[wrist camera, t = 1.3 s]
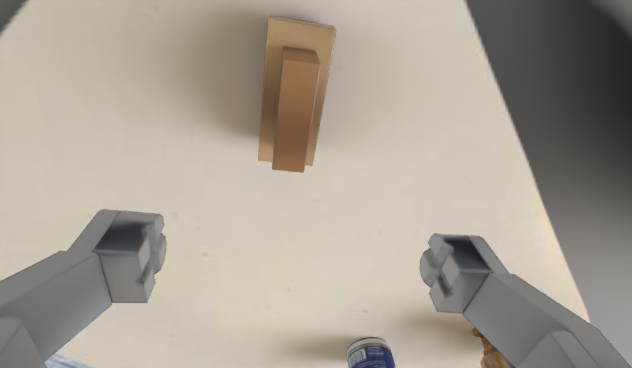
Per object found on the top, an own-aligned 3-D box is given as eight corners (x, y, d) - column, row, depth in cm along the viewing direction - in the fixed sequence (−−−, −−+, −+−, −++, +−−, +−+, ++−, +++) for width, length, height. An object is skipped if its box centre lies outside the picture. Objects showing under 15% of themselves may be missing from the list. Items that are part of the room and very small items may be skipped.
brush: (270, 12, 19) (265, 27, 14) (330, 22, 19) (345, 39, 15) (260, 142, 23) (254, 186, 19) (310, 147, 24) (316, 191, 19)
